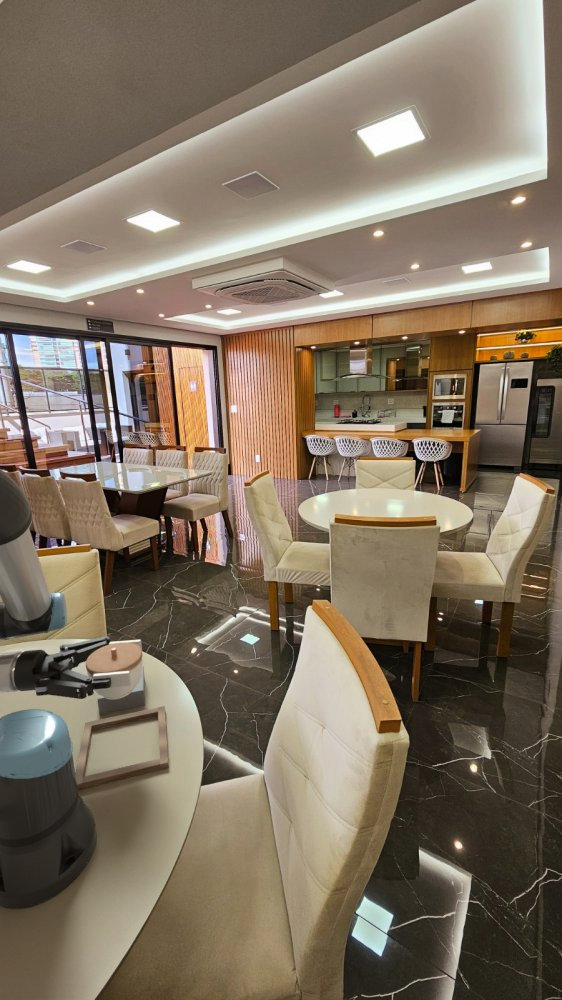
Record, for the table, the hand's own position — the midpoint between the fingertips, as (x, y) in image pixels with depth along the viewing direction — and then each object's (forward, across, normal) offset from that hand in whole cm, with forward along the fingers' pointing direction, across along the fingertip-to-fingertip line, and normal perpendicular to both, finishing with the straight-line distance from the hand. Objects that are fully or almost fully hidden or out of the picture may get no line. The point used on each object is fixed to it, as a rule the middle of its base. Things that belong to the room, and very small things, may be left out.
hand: (135, 661), depth 89 cm
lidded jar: (-4, 0, -6) cm, 8 cm away
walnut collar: (-4, +2, -18) cm, 19 cm away
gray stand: (-8, -15, -18) cm, 25 cm away
